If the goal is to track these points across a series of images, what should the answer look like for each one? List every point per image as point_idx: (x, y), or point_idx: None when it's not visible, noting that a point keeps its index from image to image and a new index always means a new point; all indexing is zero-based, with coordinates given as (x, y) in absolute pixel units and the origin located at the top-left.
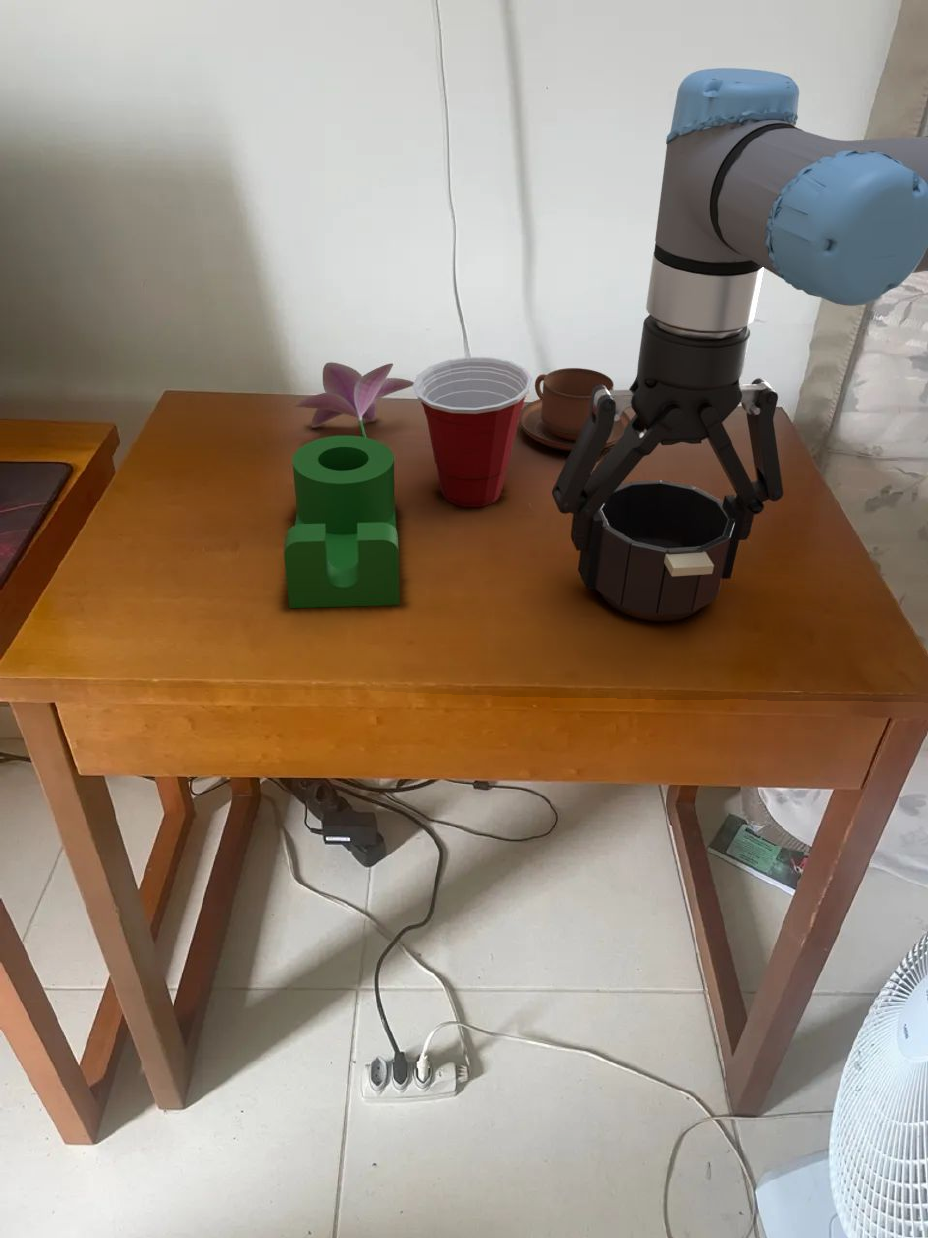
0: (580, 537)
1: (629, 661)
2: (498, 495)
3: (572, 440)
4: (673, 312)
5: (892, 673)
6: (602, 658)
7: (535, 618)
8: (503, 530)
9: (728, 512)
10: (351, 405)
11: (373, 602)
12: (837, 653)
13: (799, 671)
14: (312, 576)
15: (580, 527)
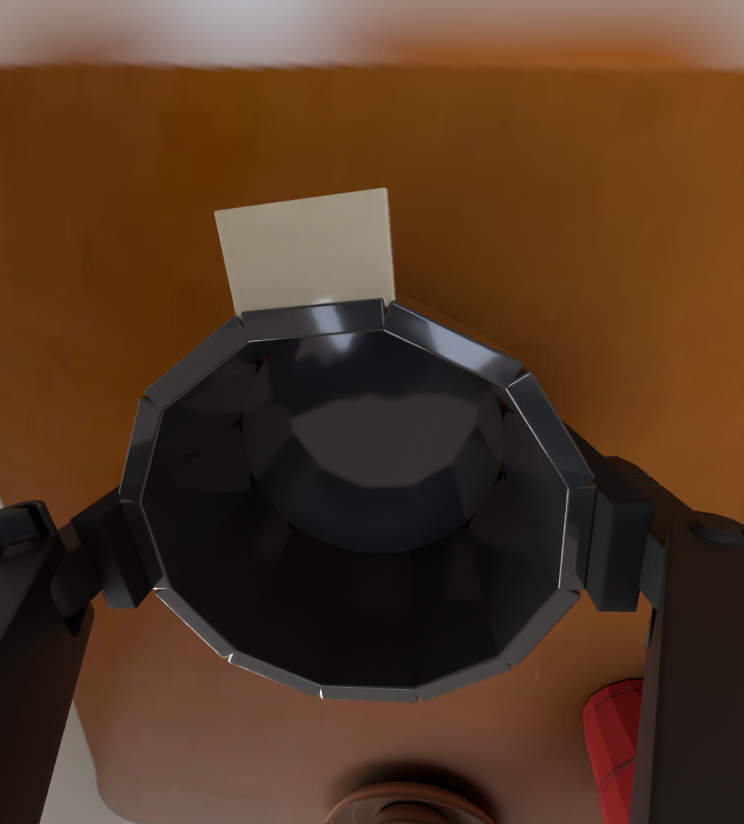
0: (634, 480)
1: (481, 171)
2: (595, 702)
3: (421, 805)
4: None
5: None
6: (542, 183)
7: (650, 341)
8: (613, 616)
9: (138, 537)
10: None
11: None
12: (37, 203)
13: (114, 134)
14: None
15: (666, 502)
